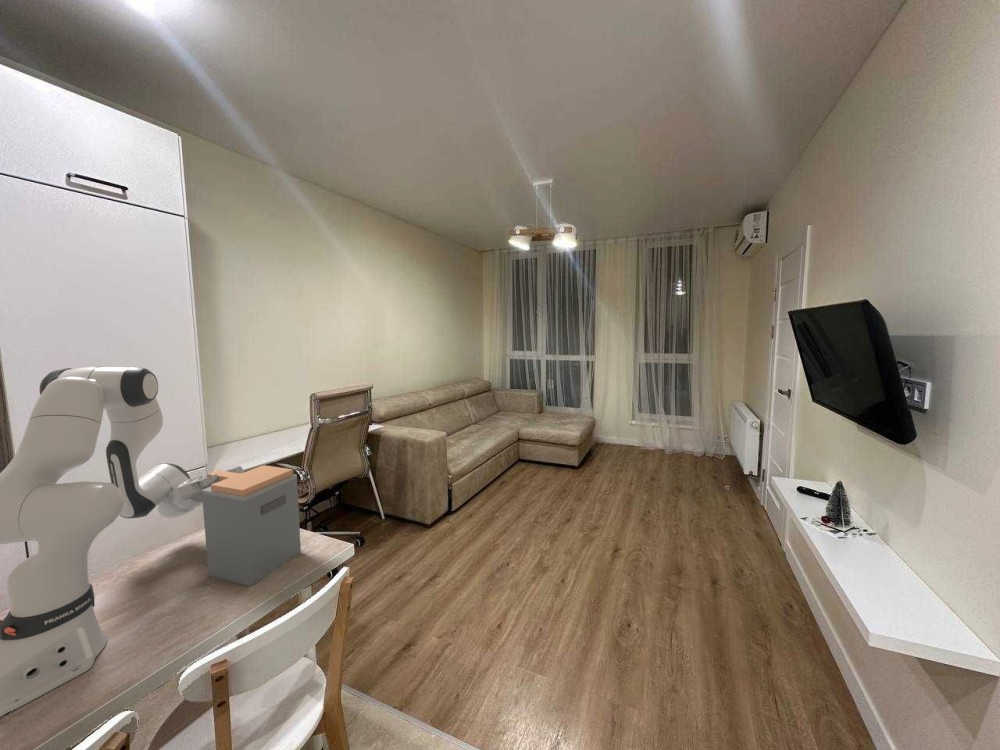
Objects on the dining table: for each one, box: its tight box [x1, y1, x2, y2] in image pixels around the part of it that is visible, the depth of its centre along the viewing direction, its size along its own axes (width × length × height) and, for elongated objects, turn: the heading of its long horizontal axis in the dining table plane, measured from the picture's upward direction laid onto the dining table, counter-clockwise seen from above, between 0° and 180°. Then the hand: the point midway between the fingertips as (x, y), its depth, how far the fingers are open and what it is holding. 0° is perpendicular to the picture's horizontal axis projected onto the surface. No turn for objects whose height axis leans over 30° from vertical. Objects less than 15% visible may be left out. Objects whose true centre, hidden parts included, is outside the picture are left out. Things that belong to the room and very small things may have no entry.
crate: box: [202, 473, 302, 587], centre depth 117 cm, size 18×16×26 cm
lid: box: [206, 464, 294, 496], centre depth 117 cm, size 17×23×2 cm
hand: (223, 474), depth 119 cm, fingers closed on lid, 3 cm apart
